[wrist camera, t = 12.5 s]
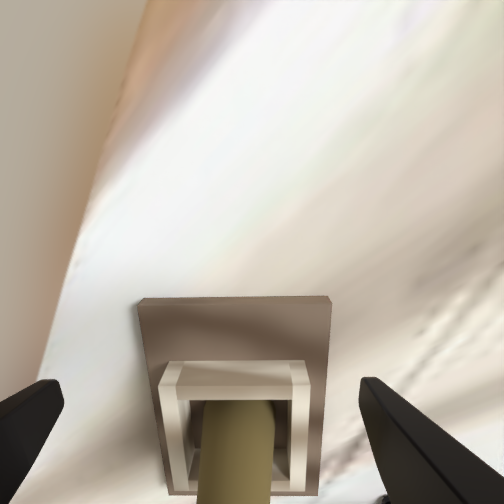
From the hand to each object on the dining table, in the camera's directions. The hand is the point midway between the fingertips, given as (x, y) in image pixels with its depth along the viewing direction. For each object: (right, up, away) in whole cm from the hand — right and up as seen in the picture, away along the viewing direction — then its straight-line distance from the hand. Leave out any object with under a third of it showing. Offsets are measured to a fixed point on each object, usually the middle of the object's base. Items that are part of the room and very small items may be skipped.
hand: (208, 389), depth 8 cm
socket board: (0, -9, +15) cm, 18 cm away
